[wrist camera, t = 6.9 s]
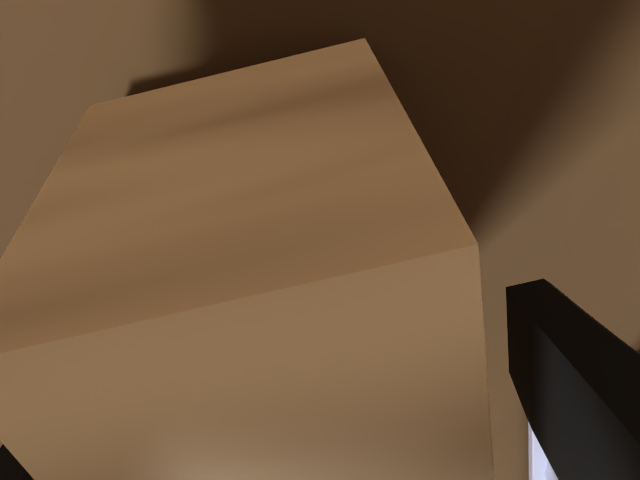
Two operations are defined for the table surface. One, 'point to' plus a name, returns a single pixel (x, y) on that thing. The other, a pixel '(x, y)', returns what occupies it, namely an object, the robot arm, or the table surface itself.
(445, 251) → the wooden block
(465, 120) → the table surface
